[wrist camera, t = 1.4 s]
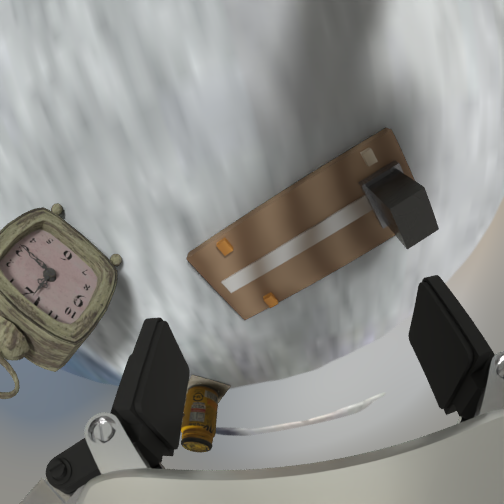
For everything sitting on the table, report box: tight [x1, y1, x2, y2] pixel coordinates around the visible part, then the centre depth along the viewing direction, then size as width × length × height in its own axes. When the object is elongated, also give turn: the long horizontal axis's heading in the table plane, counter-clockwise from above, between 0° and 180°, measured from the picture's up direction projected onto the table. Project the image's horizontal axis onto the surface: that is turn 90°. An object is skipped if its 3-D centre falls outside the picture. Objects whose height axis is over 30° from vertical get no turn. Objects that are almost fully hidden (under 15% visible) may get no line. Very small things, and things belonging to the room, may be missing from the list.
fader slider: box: [358, 160, 439, 249], centre depth 29 cm, size 5×6×7 cm
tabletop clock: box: [0, 203, 122, 399], centre depth 26 cm, size 14×9×25 cm, turn 45°
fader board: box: [187, 128, 415, 320], centre depth 35 cm, size 28×12×2 cm, turn 125°
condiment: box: [181, 375, 231, 452], centre depth 48 cm, size 7×8×12 cm
